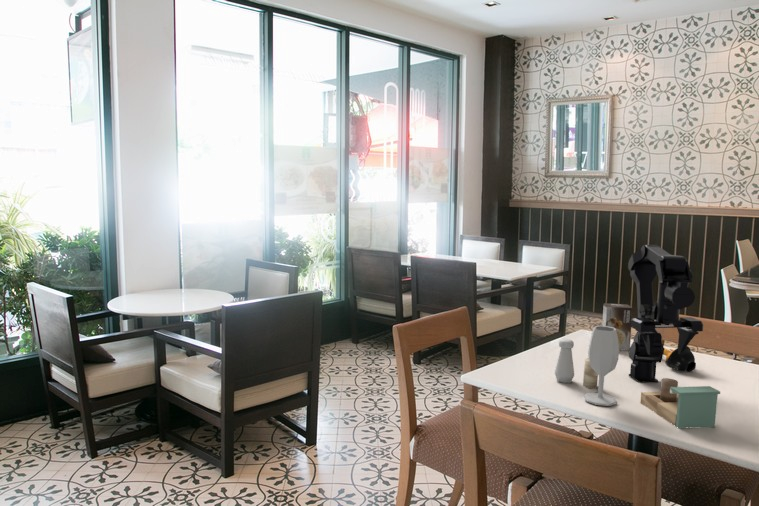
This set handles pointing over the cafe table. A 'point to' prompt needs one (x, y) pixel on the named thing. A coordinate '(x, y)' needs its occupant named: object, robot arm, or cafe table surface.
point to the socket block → (660, 406)
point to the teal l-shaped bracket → (696, 406)
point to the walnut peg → (668, 390)
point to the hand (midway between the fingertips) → (664, 354)
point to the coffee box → (619, 322)
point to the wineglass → (602, 361)
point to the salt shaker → (565, 362)
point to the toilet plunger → (680, 359)
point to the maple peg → (589, 376)
